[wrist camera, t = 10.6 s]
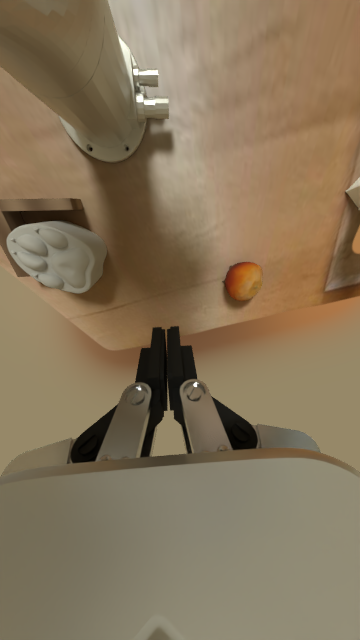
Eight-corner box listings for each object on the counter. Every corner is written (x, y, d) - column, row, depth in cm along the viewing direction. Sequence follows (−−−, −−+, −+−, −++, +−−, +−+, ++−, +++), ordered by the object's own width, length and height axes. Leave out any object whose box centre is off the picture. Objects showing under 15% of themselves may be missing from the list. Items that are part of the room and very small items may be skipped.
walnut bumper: (80, 199, 30) (69, 198, 27) (98, 267, 37) (92, 274, 34) (-3, 200, 30) (-24, 199, 27) (31, 270, 36) (17, 276, 33)
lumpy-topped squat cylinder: (100, 285, 39) (85, 303, 32) (34, 262, 36) (0, 276, 28) (110, 238, 34) (94, 247, 27) (34, 206, 31) (-7, 206, 23)
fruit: (220, 255, 36) (253, 268, 31) (244, 256, 40) (275, 267, 35) (210, 291, 40) (237, 308, 35) (232, 288, 45) (259, 303, 39)
